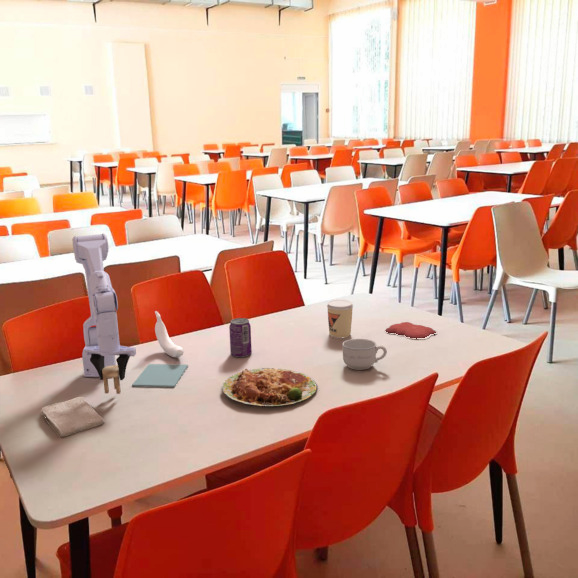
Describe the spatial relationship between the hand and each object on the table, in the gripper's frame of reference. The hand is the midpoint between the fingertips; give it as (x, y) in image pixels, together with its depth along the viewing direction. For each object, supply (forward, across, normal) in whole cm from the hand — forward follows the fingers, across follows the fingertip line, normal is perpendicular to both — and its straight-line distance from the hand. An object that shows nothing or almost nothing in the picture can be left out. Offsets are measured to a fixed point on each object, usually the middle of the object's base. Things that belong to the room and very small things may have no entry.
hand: (112, 378), depth 177 cm
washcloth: (+7, -7, -13) cm, 16 cm away
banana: (+6, +8, +33) cm, 34 cm away
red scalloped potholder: (+7, +90, +60) cm, 108 cm away
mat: (+6, +9, +16) cm, 19 cm away
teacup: (+6, +72, +26) cm, 77 cm away
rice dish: (+7, +44, +8) cm, 45 cm away
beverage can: (+6, +31, +35) cm, 47 cm away
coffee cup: (+6, +64, +56) cm, 85 cm away
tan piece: (+4, 0, 0) cm, 4 cm away
